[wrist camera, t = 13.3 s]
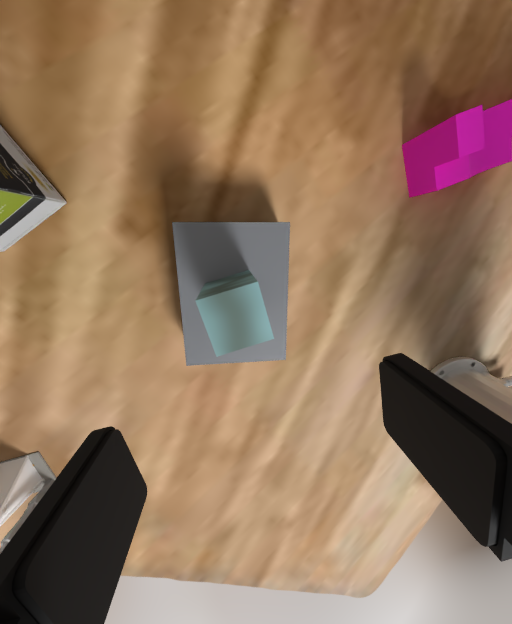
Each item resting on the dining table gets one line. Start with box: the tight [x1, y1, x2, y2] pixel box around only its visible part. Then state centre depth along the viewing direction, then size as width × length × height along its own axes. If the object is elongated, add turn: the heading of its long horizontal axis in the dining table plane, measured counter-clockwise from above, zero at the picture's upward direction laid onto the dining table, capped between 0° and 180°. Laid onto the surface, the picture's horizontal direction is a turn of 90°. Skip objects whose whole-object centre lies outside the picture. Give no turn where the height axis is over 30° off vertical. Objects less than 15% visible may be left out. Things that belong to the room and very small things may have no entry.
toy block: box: [402, 99, 512, 198], centre depth 27 cm, size 15×6×8 cm, turn 110°
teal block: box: [195, 270, 274, 357], centre depth 23 cm, size 5×5×8 cm
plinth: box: [172, 222, 290, 366], centre depth 30 cm, size 12×16×6 cm
